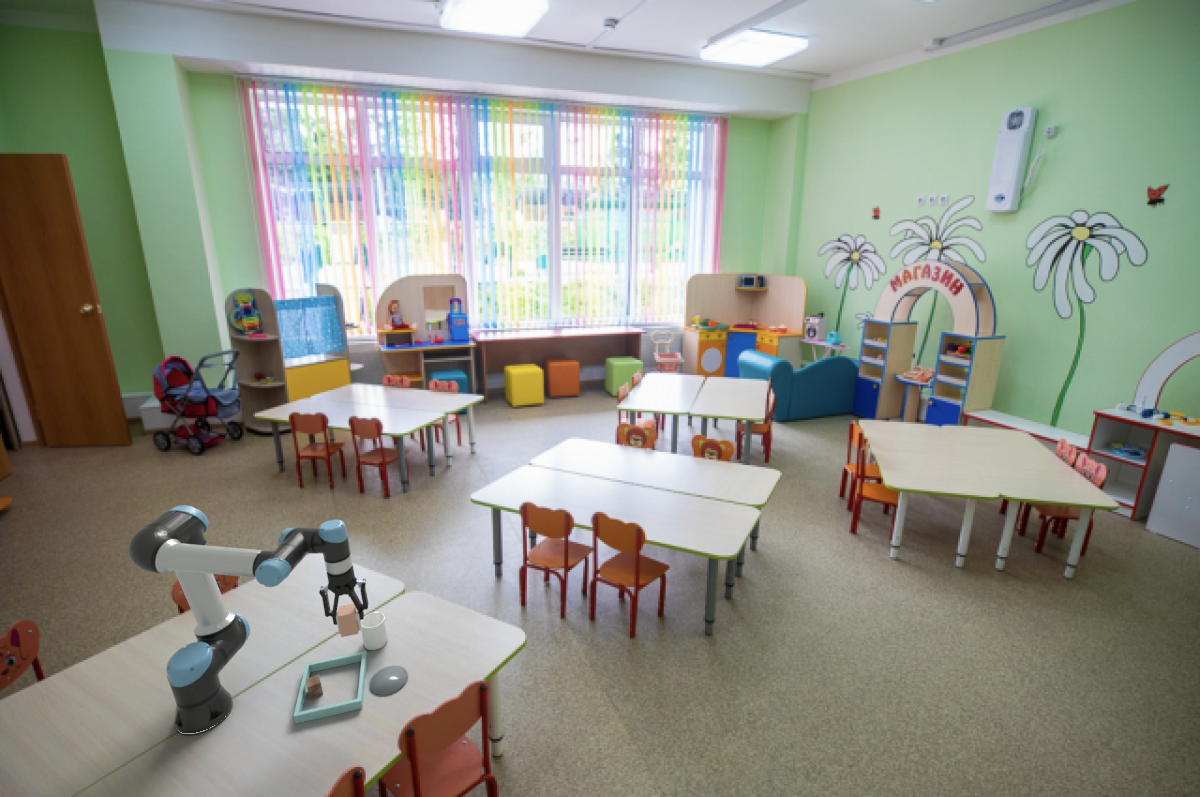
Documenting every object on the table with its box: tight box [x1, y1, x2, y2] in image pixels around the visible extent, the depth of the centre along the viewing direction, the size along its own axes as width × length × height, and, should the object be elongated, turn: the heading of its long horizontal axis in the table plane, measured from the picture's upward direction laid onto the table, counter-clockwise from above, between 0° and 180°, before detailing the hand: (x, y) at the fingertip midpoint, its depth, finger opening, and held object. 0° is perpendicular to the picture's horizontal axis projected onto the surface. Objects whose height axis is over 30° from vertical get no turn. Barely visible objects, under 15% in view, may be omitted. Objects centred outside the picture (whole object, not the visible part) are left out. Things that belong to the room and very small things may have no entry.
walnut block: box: [306, 674, 324, 700], centre depth 188 cm, size 4×4×5 cm
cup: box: [360, 611, 389, 651], centre depth 210 cm, size 8×12×10 cm
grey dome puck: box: [369, 665, 409, 696], centre depth 193 cm, size 12×12×1 cm
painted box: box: [337, 603, 360, 638], centre depth 183 cm, size 5×5×8 cm
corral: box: [293, 650, 368, 724], centre depth 190 cm, size 19×22×3 cm
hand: (350, 629), depth 184 cm, fingers closed on painted box, 5 cm apart
